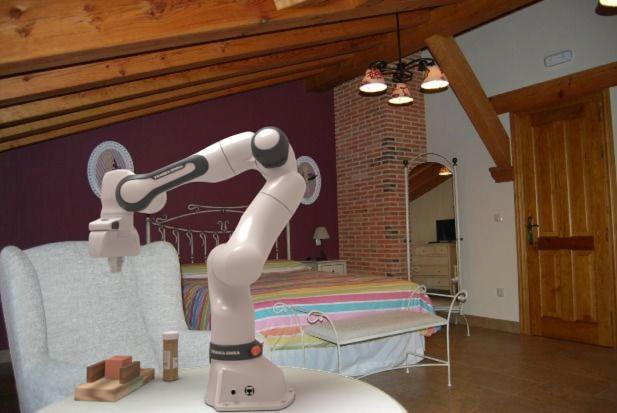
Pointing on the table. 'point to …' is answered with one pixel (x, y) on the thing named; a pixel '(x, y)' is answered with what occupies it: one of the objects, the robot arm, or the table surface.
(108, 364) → the brick-red block
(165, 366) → the sprinkles bottle
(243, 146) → the robot arm
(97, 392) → the wooden block stand
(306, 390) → the table surface
